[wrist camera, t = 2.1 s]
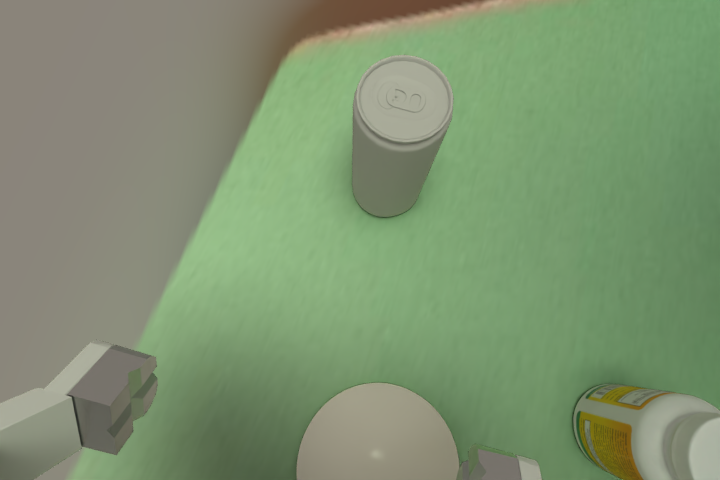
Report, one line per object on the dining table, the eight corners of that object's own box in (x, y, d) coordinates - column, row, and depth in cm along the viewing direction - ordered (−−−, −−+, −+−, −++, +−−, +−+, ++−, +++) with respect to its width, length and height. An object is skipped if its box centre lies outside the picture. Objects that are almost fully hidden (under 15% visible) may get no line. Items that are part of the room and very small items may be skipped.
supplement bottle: (593, 366, 30) (704, 374, 20) (666, 415, 29) (816, 446, 20) (554, 439, 29) (654, 482, 19) (630, 491, 28) (770, 561, 19)
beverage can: (362, 150, 33) (368, 41, 21) (425, 166, 33) (466, 66, 21) (344, 210, 32) (340, 129, 20) (409, 227, 32) (444, 156, 20)
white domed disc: (471, 405, 29) (474, 406, 28) (438, 578, 26) (440, 583, 26) (322, 364, 29) (322, 365, 29) (277, 530, 27) (275, 535, 26)
